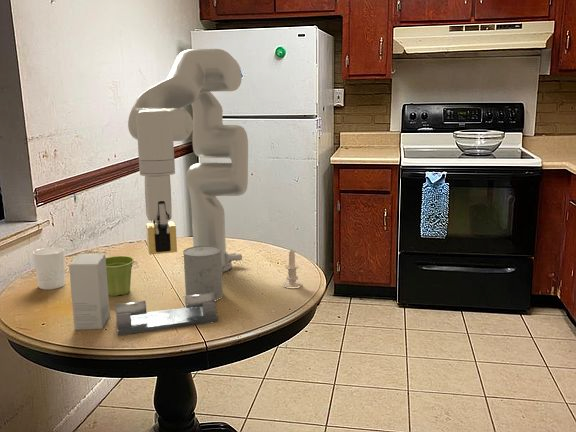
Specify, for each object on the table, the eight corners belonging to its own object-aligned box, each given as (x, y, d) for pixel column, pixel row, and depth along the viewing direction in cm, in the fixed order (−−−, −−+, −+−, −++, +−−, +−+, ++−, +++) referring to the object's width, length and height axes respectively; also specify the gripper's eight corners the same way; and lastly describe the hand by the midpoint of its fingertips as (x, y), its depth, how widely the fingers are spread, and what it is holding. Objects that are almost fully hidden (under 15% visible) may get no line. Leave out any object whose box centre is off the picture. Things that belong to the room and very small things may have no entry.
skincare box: (83, 316, 134) (77, 253, 130) (112, 315, 134) (106, 252, 131) (73, 331, 125) (66, 263, 122) (103, 329, 126) (98, 262, 123)
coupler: (149, 254, 124) (147, 224, 122) (147, 249, 128) (145, 220, 126) (177, 252, 126) (175, 222, 124) (174, 247, 130) (172, 218, 128)
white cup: (56, 291, 151) (52, 255, 149) (30, 289, 152) (26, 254, 150) (73, 281, 158) (69, 247, 156) (48, 280, 160) (44, 246, 158)
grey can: (229, 292, 148) (227, 247, 146) (212, 305, 140) (210, 257, 137) (196, 288, 152) (194, 244, 149) (178, 301, 143) (175, 254, 140)
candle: (282, 289, 151) (281, 251, 148) (283, 282, 156) (282, 246, 153) (301, 289, 150) (301, 251, 148) (302, 282, 155) (301, 246, 153)
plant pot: (123, 300, 144) (121, 267, 142) (91, 296, 146) (88, 264, 145) (143, 288, 152) (140, 257, 151) (112, 285, 155) (110, 254, 153)
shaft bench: (210, 308, 138) (209, 286, 137) (217, 321, 129) (217, 299, 128) (116, 320, 131) (114, 297, 130) (118, 335, 123) (116, 311, 121)
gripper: (136, 163, 129) (142, 241, 133) (142, 173, 114) (148, 260, 118) (170, 162, 132) (174, 238, 136) (179, 171, 116) (184, 256, 120)
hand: (162, 247), depth 127 cm, fingers closed on coupler, 4 cm apart
